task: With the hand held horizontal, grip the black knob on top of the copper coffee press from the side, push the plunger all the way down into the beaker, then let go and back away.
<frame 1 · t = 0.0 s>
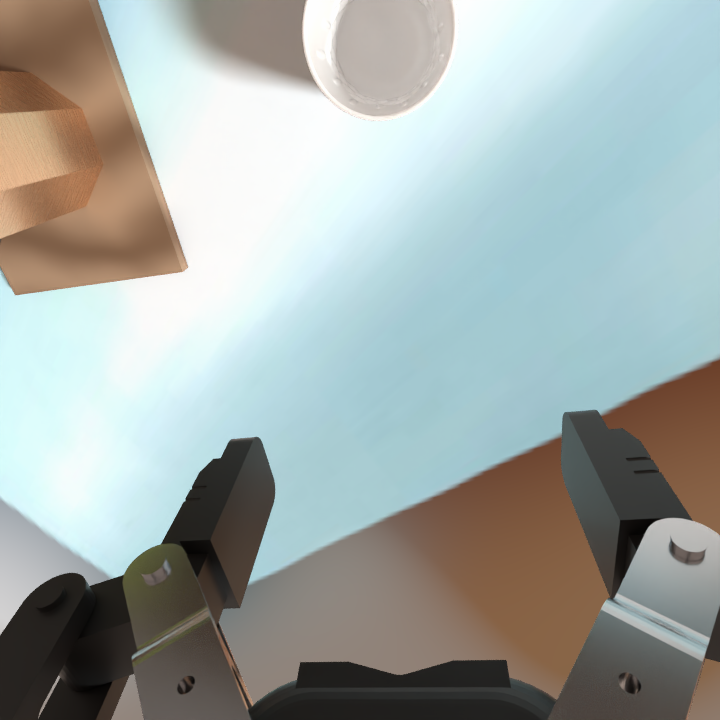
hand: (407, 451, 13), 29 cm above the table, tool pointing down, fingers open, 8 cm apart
walnut board: (47, 146, 39), on the table
press beaker: (37, 147, 38), resting on walnut board
white cup: (386, 48, 34), on the table
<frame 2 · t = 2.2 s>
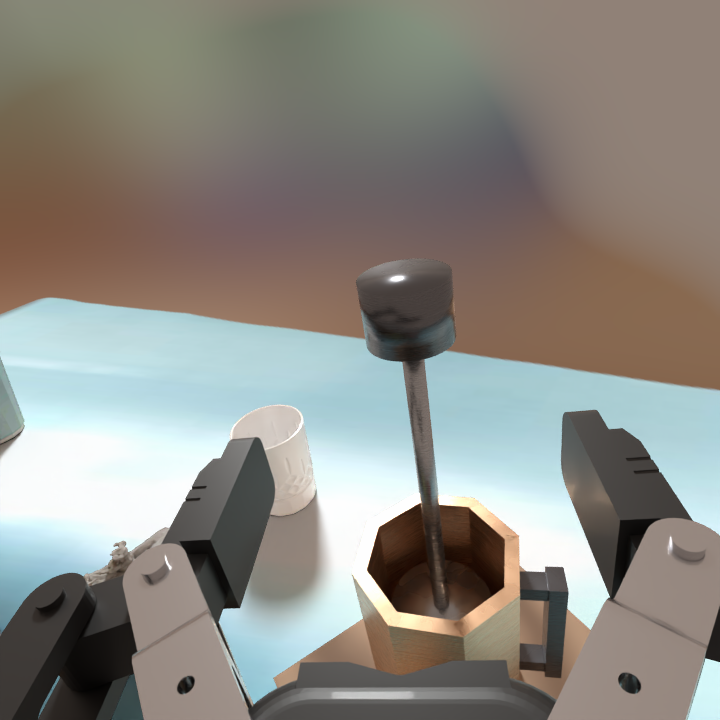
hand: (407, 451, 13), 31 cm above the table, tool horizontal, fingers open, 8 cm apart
walnut board: (451, 690, 37), on the table
plunger: (427, 477, 26), point 21 cm above the table, slide at -0.1 cm
press beaker: (450, 681, 36), resting on walnut board
grey and blue model: (163, 628, 45), on the table
disposable coffee cup: (3, 434, 79), on the table
white cup: (288, 495, 57), on the table
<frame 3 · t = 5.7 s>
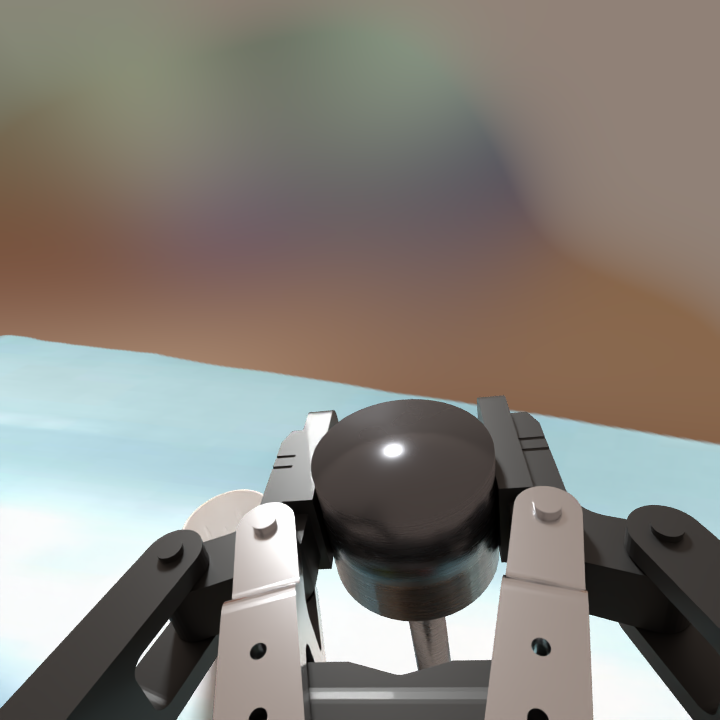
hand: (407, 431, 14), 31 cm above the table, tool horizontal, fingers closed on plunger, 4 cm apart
white cup: (257, 599, 47), on the table
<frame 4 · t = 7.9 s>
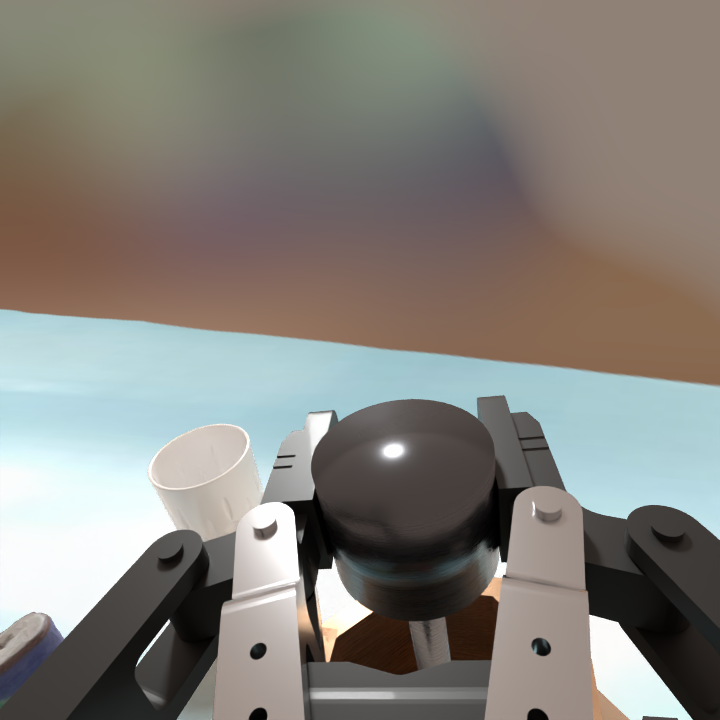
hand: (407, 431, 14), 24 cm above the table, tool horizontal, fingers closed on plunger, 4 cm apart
white cup: (236, 544, 43), on the table
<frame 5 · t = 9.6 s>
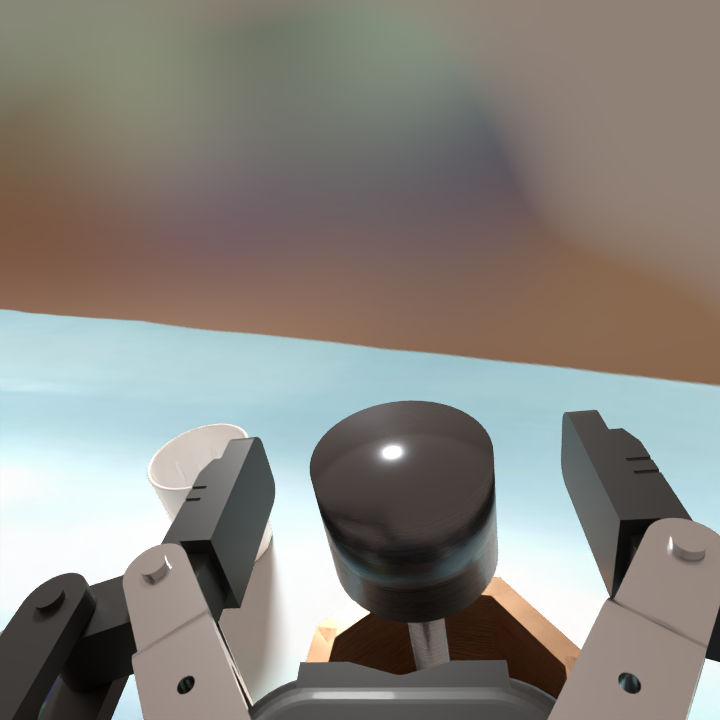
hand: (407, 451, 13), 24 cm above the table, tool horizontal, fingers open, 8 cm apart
white cup: (235, 544, 43), on the table
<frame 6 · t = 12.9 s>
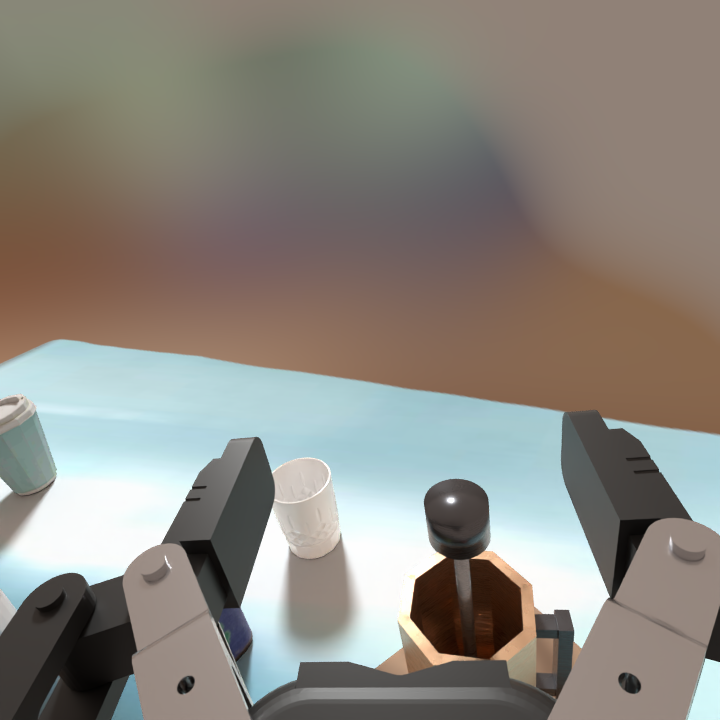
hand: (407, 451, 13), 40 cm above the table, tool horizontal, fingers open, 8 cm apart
walnut board: (476, 714, 43), on the table
plunger: (466, 614, 36), point 14 cm above the table, slide at 7.5 cm
press beaker: (475, 707, 42), resting on walnut board
grey and blue model: (215, 667, 51), on the table
disposable coffee cup: (37, 483, 84), on the table
white cup: (315, 539, 63), on the table
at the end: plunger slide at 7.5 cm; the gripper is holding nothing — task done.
